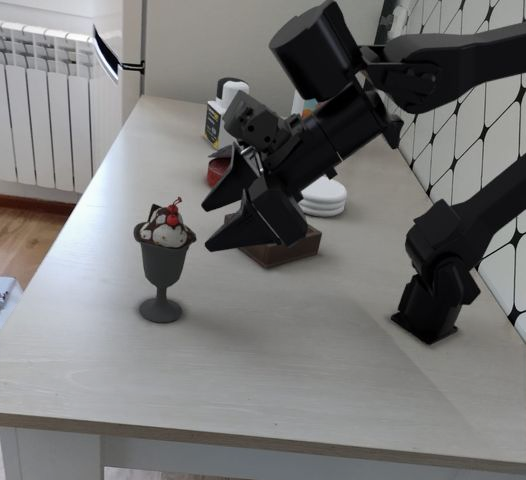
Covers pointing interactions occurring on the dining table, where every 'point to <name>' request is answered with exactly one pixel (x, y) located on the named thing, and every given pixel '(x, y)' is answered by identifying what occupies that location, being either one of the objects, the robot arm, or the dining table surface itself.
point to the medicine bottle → (222, 111)
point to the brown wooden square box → (283, 249)
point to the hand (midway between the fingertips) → (205, 227)
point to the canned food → (218, 164)
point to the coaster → (323, 198)
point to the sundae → (163, 258)
